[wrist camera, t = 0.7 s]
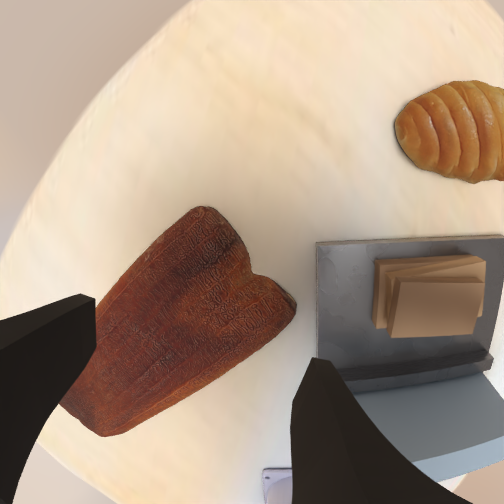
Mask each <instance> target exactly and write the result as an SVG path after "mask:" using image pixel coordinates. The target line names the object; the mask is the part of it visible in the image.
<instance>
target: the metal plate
mask: <svg viewBox="0 0 504 504" xmlns="http://www.w3.org/2000/svg"><path fill="white" fill-rule="evenodd" d="M467 254H471V255H473V256H477V257H479V258H481V259H483V260H485V261H486V271H485V288H484V301H483V311H482V316H480V317H477V320H476V323H475V327H474V331H473V334H465V335H450V336H431V337H406V338H391V337H390V335H389V334H388V332H387V330H386V328H381V329H376V328H375V326H374V324H373V322H372V311H373V295H374V273H375V260H382V259H400V258H418V257H435V256H451V255H467ZM316 265H317V354H316V358H319V359H324V360H330V361H331V362H332V364H333V365H334V367H335V368H336V370H337V371H338V373H339V374H340V376H341V378H342V379H343V381H344V382H345V384H346V385H347V387H348V388H349V390H350V391H351V393H352V392H362V391H372V390H381V389H389V388H396V387H403V386H410V385H416V384H423V383H428V382H434V381H439V380H445V379H450V378H455V377H460V376H464V375H469V374H473V373H477V372H482V373H483V371H486V370H490V369H491V366H492V363H493V359H494V358H493V357H492V356H491V355H490V353H489V348H490V345H491V341H492V337H493V333H494V328H495V324H496V319H497V315H498V310H499V305H500V299H501V294H502V288H503V281H504V236H503V235H484V236H457V237H431V238H406V239H382V240H358V241H335V242H316Z"/></svg>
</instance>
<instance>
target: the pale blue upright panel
mask: <svg viewBox="0 0 504 504" xmlns="http://www.w3.org/2000/svg"><path fill="white" fill-rule="evenodd" d="M352 394H353V396H354V397H355V399H356V400H357V401H358V403H359V404H360V406H361V407H362V409H363V410H364V411H365V413H366V414H367V415H368V417H369V418H370V419H371V420H372V422H373V423H374V424H375V425H376V427H377V428H378V429H379V430H380V431H381V433H382V434H383V435H384V436H385V437H386V438H387V439H388V440H389V441H390V442H391V443H392V445H393V446H394V447H395V448H396V449H397V450H398V451H399V452H400V453H401V454H402V455H403V456H405V457H406V458H407V459H408V460H409V461H410V462H411V463H412V464H414V465H415V466H416V467H417V468H418V469H419V470H421V471H422V472H423V473H424V474H426V475H427V476H428V477H430V478H431V479H432V480H434V481H435V482H439V481H443V480H446V479H450V478H453V477H456V476H460V475H463V474H466V473H469V472H472V471H475V470H478V469H481V468H483V467H486V466H489V465H491V464H494V463H497V462H499V461H501V460H504V400H503V399H502V397H501V396H500V395H499V393H498V392H497V391H496V389H495V388H494V387H493V385H492V384H491V383H490V382H489V380H488V379H487V378H486V377H485V375H484V374H483V373H482V372H477V373H473V374H469V375H464V376H460V377H455V378H450V379H445V380H439V381H434V382H428V383H423V384H416V385H410V386H403V387H396V388H389V389H381V390H372V391H362V392H352Z"/></svg>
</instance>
